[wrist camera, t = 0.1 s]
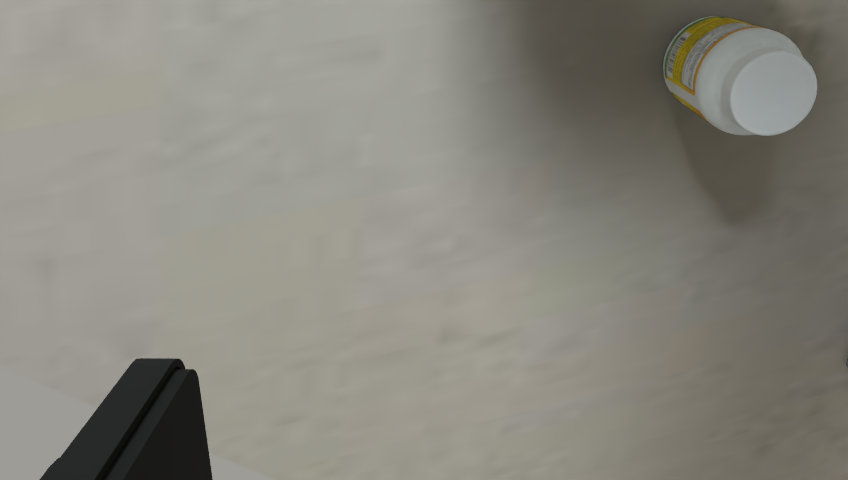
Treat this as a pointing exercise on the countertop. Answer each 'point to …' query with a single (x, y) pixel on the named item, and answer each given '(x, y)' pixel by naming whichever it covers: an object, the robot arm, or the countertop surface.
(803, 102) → the supplement bottle
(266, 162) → the countertop surface
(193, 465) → the robot arm
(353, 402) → the countertop surface
